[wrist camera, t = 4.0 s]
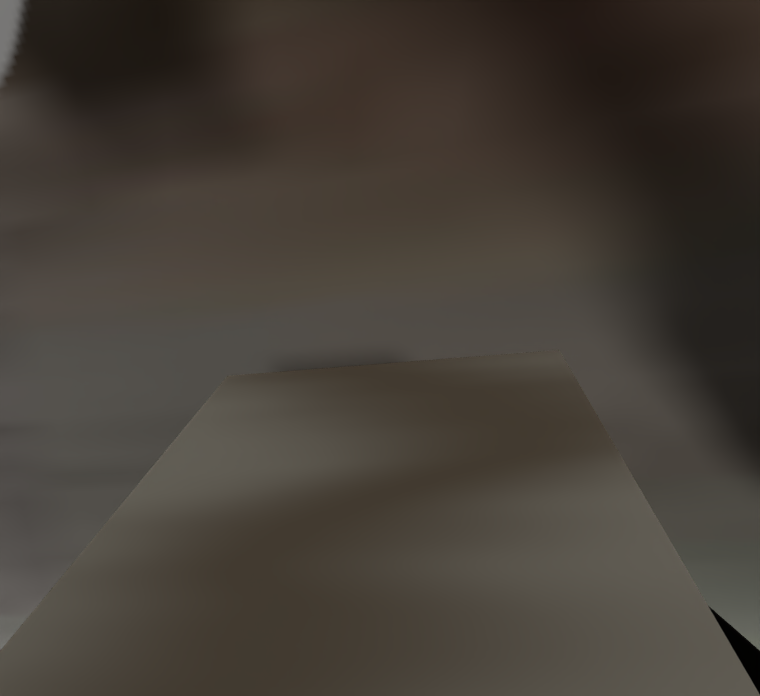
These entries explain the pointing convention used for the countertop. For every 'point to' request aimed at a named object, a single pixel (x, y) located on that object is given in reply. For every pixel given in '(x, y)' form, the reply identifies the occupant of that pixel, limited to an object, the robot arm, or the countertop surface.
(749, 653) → the robot arm
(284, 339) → the countertop surface
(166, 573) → the maple block
